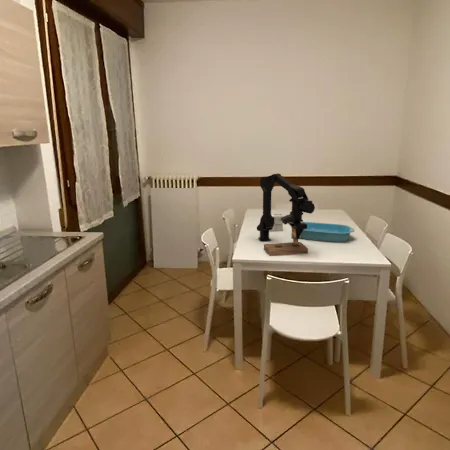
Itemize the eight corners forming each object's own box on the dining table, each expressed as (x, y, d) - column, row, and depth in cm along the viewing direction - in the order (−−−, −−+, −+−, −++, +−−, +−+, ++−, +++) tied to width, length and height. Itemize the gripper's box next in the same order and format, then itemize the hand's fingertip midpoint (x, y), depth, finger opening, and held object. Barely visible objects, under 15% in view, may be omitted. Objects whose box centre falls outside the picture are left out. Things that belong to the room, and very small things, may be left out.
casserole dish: (353, 234, 237) (354, 224, 236) (353, 245, 217) (354, 233, 215) (296, 230, 249) (297, 220, 247) (291, 240, 229) (291, 229, 227)
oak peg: (290, 243, 209) (290, 226, 207) (298, 242, 210) (298, 225, 207) (292, 245, 205) (293, 228, 202) (301, 245, 205) (301, 227, 203)
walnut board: (263, 249, 212) (263, 244, 211) (300, 246, 215) (300, 241, 214) (269, 256, 200) (269, 250, 200) (307, 253, 203) (308, 248, 203)
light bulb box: (281, 228, 254) (281, 213, 251) (282, 231, 247) (283, 215, 245) (265, 229, 254) (265, 213, 251) (267, 231, 247) (267, 216, 244)
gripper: (278, 207, 210) (277, 233, 214) (288, 214, 192) (287, 243, 196) (296, 206, 212) (295, 232, 216) (308, 213, 194) (307, 241, 198)
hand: (295, 237), depth 206 cm, fingers closed on oak peg, 5 cm apart
